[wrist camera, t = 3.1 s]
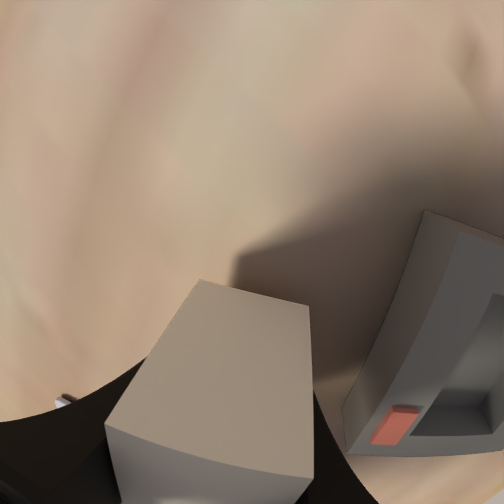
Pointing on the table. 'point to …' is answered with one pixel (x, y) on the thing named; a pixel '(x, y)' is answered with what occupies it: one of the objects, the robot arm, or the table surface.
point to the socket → (436, 352)
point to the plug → (219, 405)
